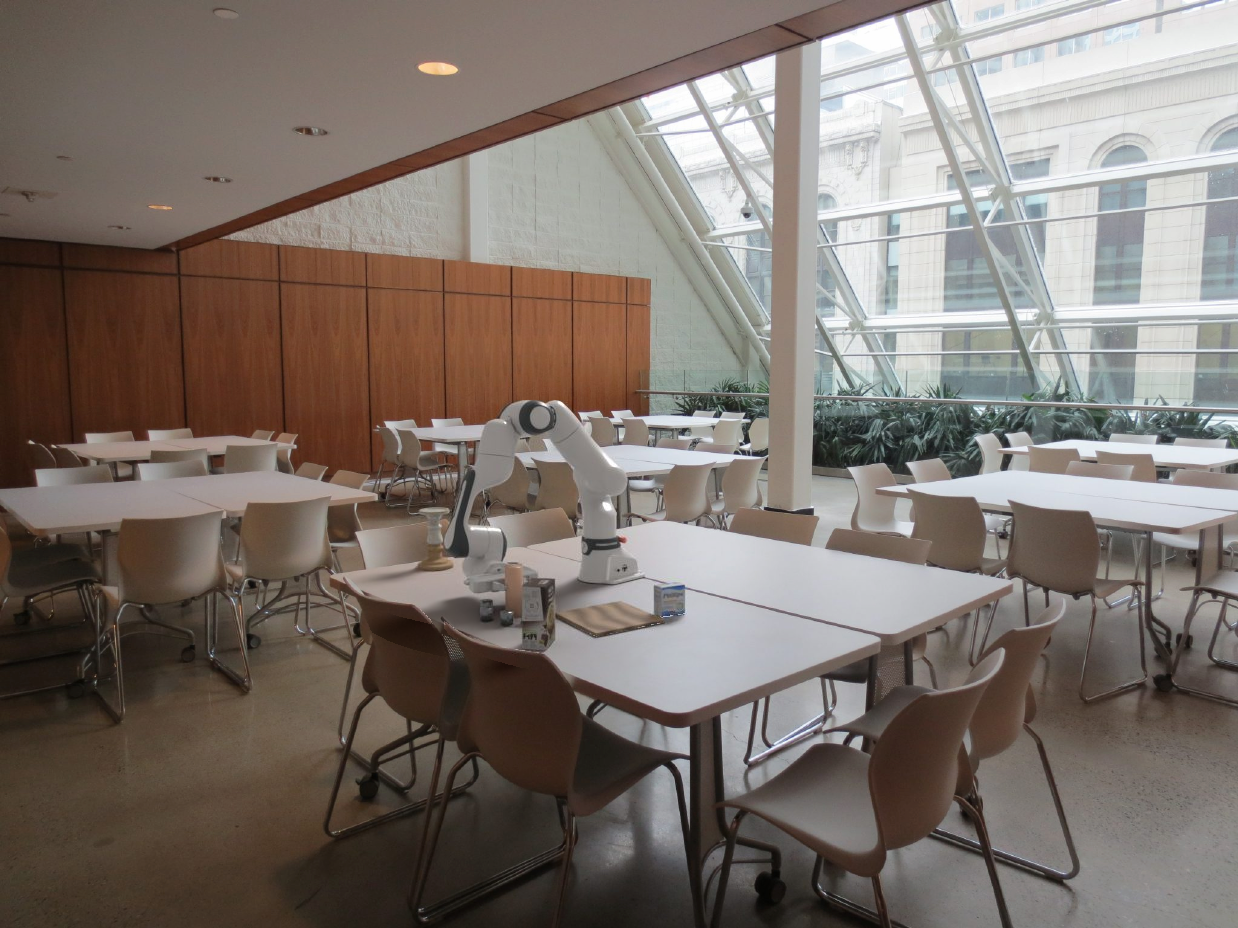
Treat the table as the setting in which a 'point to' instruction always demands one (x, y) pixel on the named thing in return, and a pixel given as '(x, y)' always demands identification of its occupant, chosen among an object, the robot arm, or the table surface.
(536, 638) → the coffee box
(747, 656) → the table surface
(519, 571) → the peach rounded cylinder
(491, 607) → the posts
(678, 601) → the medicine box
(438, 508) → the candle holder
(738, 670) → the table surface
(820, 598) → the table surface
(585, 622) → the walnut board
